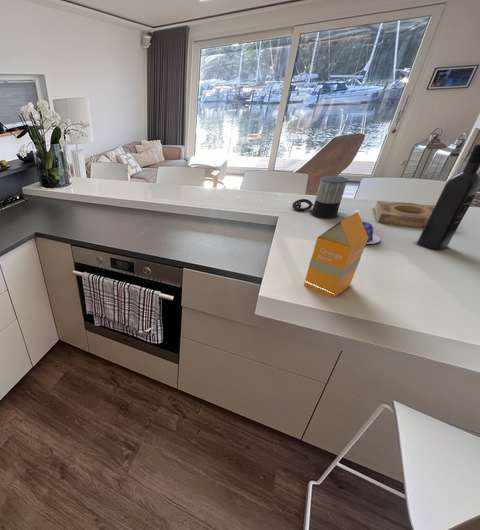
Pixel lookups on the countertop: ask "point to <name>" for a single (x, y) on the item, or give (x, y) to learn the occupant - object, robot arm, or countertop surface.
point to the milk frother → (325, 197)
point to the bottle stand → (403, 213)
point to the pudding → (370, 233)
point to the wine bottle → (452, 205)
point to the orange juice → (337, 256)
